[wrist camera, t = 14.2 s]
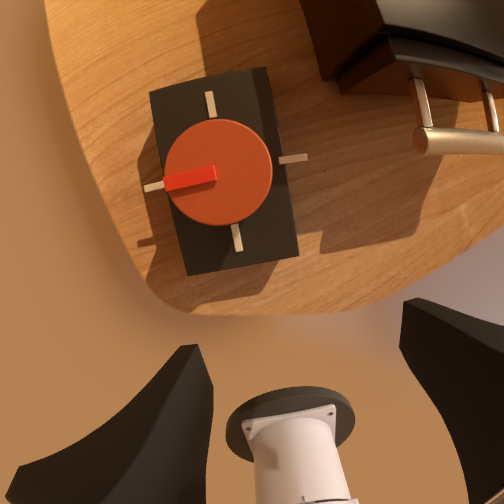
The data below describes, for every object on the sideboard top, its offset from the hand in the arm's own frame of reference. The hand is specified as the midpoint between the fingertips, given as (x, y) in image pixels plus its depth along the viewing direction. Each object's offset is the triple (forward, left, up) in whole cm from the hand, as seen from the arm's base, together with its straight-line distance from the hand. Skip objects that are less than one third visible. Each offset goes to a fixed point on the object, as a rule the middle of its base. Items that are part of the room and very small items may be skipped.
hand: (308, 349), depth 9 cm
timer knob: (+6, +2, -6) cm, 9 cm away
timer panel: (+6, +2, -9) cm, 11 cm away
